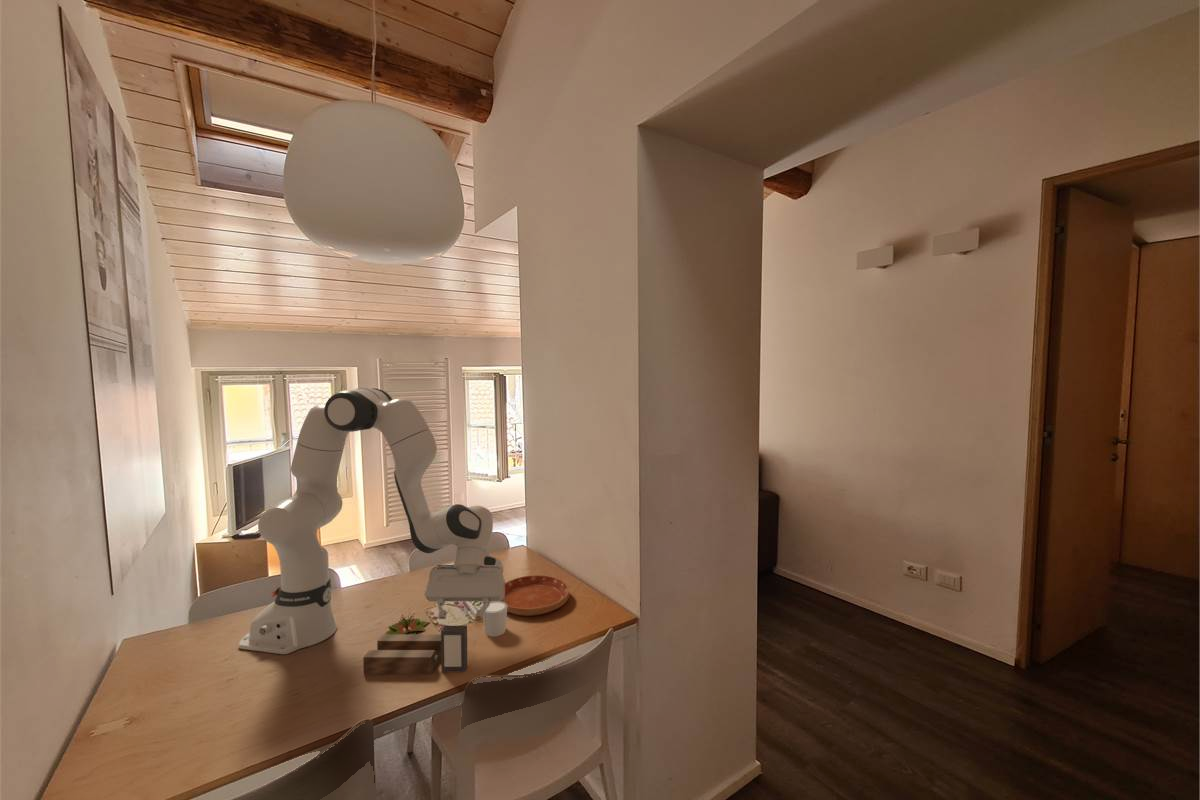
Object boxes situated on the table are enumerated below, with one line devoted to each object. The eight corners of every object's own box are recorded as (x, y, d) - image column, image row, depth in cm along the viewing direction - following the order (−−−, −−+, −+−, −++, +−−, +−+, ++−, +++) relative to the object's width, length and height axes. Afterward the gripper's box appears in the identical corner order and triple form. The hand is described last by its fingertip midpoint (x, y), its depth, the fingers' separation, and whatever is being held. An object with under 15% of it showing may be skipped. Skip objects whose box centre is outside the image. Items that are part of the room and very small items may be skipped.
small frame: (441, 672, 113) (440, 631, 112) (445, 665, 115) (444, 625, 115) (464, 672, 113) (463, 631, 112) (467, 665, 115) (467, 625, 115)
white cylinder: (501, 639, 127) (501, 613, 127) (478, 636, 128) (477, 611, 128) (511, 626, 134) (511, 602, 133) (488, 623, 135) (488, 599, 135)
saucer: (544, 627, 134) (544, 614, 134) (480, 609, 144) (480, 597, 143) (581, 593, 154) (581, 582, 154) (523, 580, 164) (523, 570, 164)
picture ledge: (363, 673, 112) (363, 657, 112) (382, 649, 122) (382, 634, 122) (431, 673, 112) (430, 657, 112) (444, 649, 122) (444, 634, 122)
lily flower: (400, 617, 139) (400, 602, 139) (438, 621, 137) (437, 606, 136) (373, 640, 127) (373, 623, 127) (414, 645, 125) (413, 628, 125)
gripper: (428, 559, 125) (415, 614, 116) (505, 559, 125) (498, 613, 116) (434, 569, 130) (422, 622, 120) (509, 569, 130) (502, 622, 120)
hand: (460, 618), depth 118 cm, fingers open, 8 cm apart
